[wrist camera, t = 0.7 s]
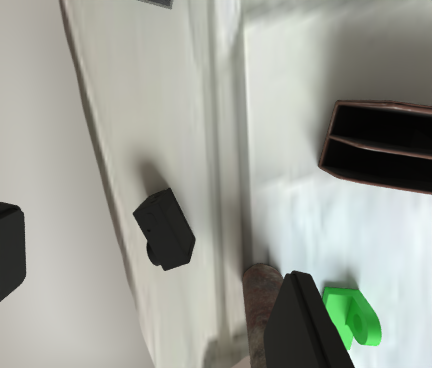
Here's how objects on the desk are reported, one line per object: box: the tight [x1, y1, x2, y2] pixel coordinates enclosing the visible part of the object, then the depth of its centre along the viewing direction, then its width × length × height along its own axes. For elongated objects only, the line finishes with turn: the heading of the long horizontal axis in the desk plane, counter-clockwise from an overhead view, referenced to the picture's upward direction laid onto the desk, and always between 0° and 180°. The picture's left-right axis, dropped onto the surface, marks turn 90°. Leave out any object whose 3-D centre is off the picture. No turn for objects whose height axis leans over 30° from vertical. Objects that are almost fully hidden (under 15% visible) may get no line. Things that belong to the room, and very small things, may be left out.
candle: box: [243, 264, 284, 368], centre depth 35 cm, size 8×7×20 cm
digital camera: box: [133, 188, 196, 271], centre depth 39 cm, size 10×5×7 cm, turn 23°
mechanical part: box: [322, 287, 382, 350], centre depth 42 cm, size 12×6×8 cm, turn 177°
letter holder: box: [318, 100, 432, 195], centre depth 30 cm, size 10×20×14 cm, turn 82°
